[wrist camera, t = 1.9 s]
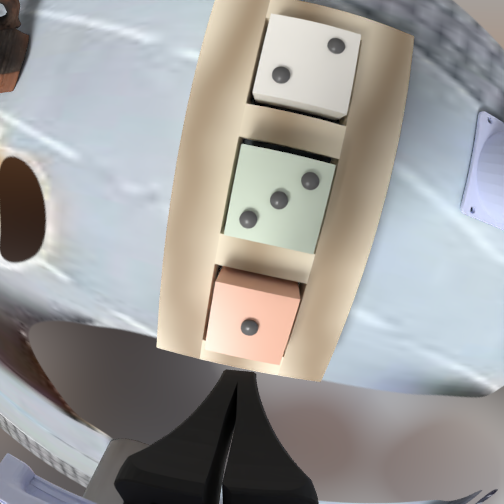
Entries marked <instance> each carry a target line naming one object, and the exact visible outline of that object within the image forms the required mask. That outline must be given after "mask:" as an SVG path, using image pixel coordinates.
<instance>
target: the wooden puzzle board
mask: <svg viewBox="0 0 504 504" xmlns="http://www.w3.org/2000/svg"><path fill="white" fill-rule="evenodd" d="M271 14H277V15H283V16H288V17H294V18H299V19H303V20H308V21H312V22H317V23H321V24H325V25H329V26H333V27H336V28H340V29H343V30H347V31H350V32H354V33H357V34H360V35H361V39H360V45H359V51H358V57H357V63H356V69H355V75H354V80H353V86H352V91H351V96H350V101H349V106H348V111H347V115H345V116H343V117H341V118H340V121H339V124H336V123H332V122H328V121H325V120H321V119H317V118H313V117H309V116H305V115H301V114H296V113H292V112H287V111H283V110H278V109H273V108H268V107H263V106H258V105H252V104H251V101H252V96H253V93H252V92H253V88H254V83H255V79H256V75H257V70H258V66H259V61H260V57H261V53H262V49H263V44H264V40H265V36H266V32H267V28H268V24H269V19H270V15H271ZM413 43H414V36H412V35H410V34H407V33H405V32H403V31H400V30H398V29H395V28H393V27H390V26H387V25H385V24H382V23H379V22H376V21H373V20H370V19H367V18H364V17H361V16H358V15H355V14H351V13H348V12H345V11H341V10H337V9H334V8H330V7H326V6H322V5H318V4H313V3H309V2H304V1H299V0H215V2H214V5H213V8H212V11H211V15H210V18H209V22H208V25H207V29H206V32H205V36H204V40H203V43H202V47H201V51H200V55H199V59H198V63H197V67H196V71H195V75H194V79H193V83H192V88H191V92H190V97H189V101H188V106H187V111H186V115H185V120H184V125H183V130H182V136H181V141H180V146H179V152H178V157H177V163H176V169H175V175H174V182H173V188H172V195H171V201H170V209H169V216H168V223H167V231H166V240H165V248H164V258H163V267H162V278H161V289H160V302H159V316H158V332H157V348H161V349H165V350H168V351H172V352H175V353H179V354H183V355H187V356H190V357H194V358H198V359H202V360H207V361H211V362H215V363H220V364H224V365H229V366H233V367H238V368H243V369H248V370H252V371H257V372H263V373H268V374H274V375H280V376H285V377H292V378H298V379H304V380H311V381H318V382H321V380H322V378H323V375H324V373H325V371H326V368H327V366H328V364H329V362H330V359H331V357H332V354H333V352H334V350H335V347H336V345H337V342H338V340H339V337H340V335H341V332H342V330H343V327H344V325H345V322H346V319H347V317H348V314H349V311H350V309H351V306H352V303H353V300H354V298H355V295H356V292H357V289H358V286H359V283H360V281H361V278H362V275H363V272H364V269H365V266H366V262H367V259H368V256H369V253H370V250H371V247H372V243H373V240H374V237H375V233H376V230H377V227H378V223H379V220H380V216H381V212H382V209H383V205H384V201H385V197H386V194H387V190H388V186H389V182H390V177H391V173H392V169H393V165H394V160H395V156H396V151H397V146H398V142H399V137H400V132H401V126H402V121H403V116H404V110H405V104H406V98H407V91H408V85H409V77H410V70H411V62H412V53H413ZM243 139H249V140H254V141H259V142H264V143H269V144H273V145H278V146H283V147H287V148H291V149H296V150H300V151H304V152H308V153H312V154H316V155H320V156H324V157H328V158H331V162H330V164H334V165H336V167H335V171H334V176H333V180H332V184H331V188H330V192H329V196H328V200H327V204H326V208H325V212H324V216H323V220H322V224H321V228H320V232H319V235H318V239H317V243H316V246H315V250H314V254H309V253H304V252H300V251H295V250H291V249H286V248H282V247H277V246H273V245H268V244H263V243H259V242H254V241H250V240H245V239H240V238H236V237H231V236H226V235H224V231H225V226H226V220H227V215H228V210H229V204H230V199H231V194H232V189H233V184H234V179H235V174H236V169H237V164H238V159H239V154H240V149H241V144H242V143H243ZM219 265H222V266H227V267H231V268H236V269H240V270H245V271H249V272H254V273H258V274H263V275H268V276H272V277H277V278H282V279H287V280H291V281H296V282H300V283H299V294H300V302H299V306H298V309H297V312H296V316H295V319H294V322H293V325H292V328H291V332H290V335H289V338H288V341H287V344H286V347H285V350H284V353H283V356H282V359H281V362H280V365H275V364H270V363H265V362H260V361H254V360H249V359H245V358H240V357H235V356H231V355H226V354H222V353H217V352H213V351H209V350H205V342H206V336H207V330H208V324H209V317H210V311H211V305H212V299H213V293H214V287H215V282H216V279H217V274H218V269H219Z"/></svg>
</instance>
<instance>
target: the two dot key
mask: <svg viewBox="0 0 504 504" xmlns="http://www.w3.org/2000/svg"><path fill="white" fill-rule="evenodd" d="M360 39H361V35H360V34H357V33H354V32H350V31H347V30H343V29H340V28H336V27H333V26H329V25H325V24H321V23H317V22H312V21H308V20H303V19H299V18H294V17H288V16H283V15H277V14H271V15H270V19H269V24H268V28H267V32H266V36H265V40H264V44H263V49H262V53H261V57H260V61H259V66H258V70H257V75H256V79H255V83H254V88H253V92H252V93H253V95H254V98H255V101H256V102H257V103H262V104H268V105H273V106H277V107H282V108H287V109H291V110H296V111H300V112H304V113H309V114H313V115H317V116H321V117H324V118H328V119H332V120H338V119H340V118H341V117H343V116H345V115H347V111H348V106H349V101H350V96H351V91H352V86H353V80H354V75H355V69H356V63H357V57H358V51H359V45H360Z"/></svg>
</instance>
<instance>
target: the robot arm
mask: <svg viewBox="0 0 504 504" xmlns="http://www.w3.org/2000/svg"><path fill="white" fill-rule="evenodd" d="M488 118H489V120H490V122H488ZM471 207H472V208H473V209H472V212H470V209H471ZM461 212H462V213H463V214H465V215H468V216H470V217H473V218H475V219H478V220H480V221H483V222H485V223H488V224H490V225H492V226H495V227H497V228H500V229H502V230H504V123H503V122H502V121H500V120H499V119H497V118H495V117H494V116H492V115H491V114H489V113H487V112H485V111H481V112H479V114H478V121H477V128H476V135H475V141H474V147H473V153H472V158H471V163H470V168H469V173H468V178H467V182H466V187H465V191H464V195H463V199H462V203H461ZM233 432H234V433H233ZM232 436H233V438H232ZM231 439H232V443H231ZM230 443H231V448H230V453H229V457H228V462H227V466H226V470H225V474H224V478H223V473H224V467H225V462H226V458H227V454H228V450H229V447H230ZM222 479H223V482H222ZM114 486H115V488H116V490H117V492H118V493H119V495H120V496H121V498H122V499H123V501H124V502H123V504H219V500H220V493H221V487H222V493H223V504H319V503H318V498H317V494H316V491H315V488H314V486H313V483H312V481H311V479H310V478H309V477H308V476H307V475H306V474H305V473H304V472H303V471H302V470H301V469H300V468H299V467H298V466H297V464H296V463H295V462H294V461H293V460H292V458H291V457H290V456H289V454H288V453H287V451H286V450H285V449H284V447H283V446H282V444H281V443H280V441H279V440H278V438H277V436H276V434H275V432H274V431H273V429H272V427H271V425H270V423H269V420H268V419H267V416H266V414H265V411H264V408H263V405H262V402H261V399H260V396H259V392H258V388H257V382H256V374H255V373H254V372H246V371H236V370H225V371H223V374H222V375H221V377H220V379H219V381H218V382H217V384H216V385H215V387H214V388H213V390H212V391H211V392H210V394H209V395H208V396H207V398H206V399H205V400H204V401H203V402H202V403H201V405H200V406H199V407H198V408H197V409H196V410H195V411H194V412H193V413H192V414H191V416H189V417H188V418H187V419H186V420H185V421H184V422H183V423H182V424H181V425H179V426H178V427H177V428H176V429H175V430H173V431H172V432H170V433H169V434H168V435H166V436H165V437H163V438H162V439H160V440H158V441H157V442H155V443H154V444H152V445H150V446H148V447H147V448H145V449H142V450H140V451H138V452H136V453H134V454H132V455H130V456H128V457H127V459H126V460H125V462H124V463H123V465H122V466H121V468H120V470H119V472H118V474H117V476H116V479H115V481H114ZM0 503H1V504H97V503H95V502H92V501H90V500H87V499H85V498H83V497H80V496H78V495H76V494H73V493H71V492H69V491H67V490H64V489H62V488H60V487H58V486H56V485H54V484H52V483H50V482H48V481H46V480H44V479H43V478H41V477H39V476H37V475H35V474H34V472H33V471H32V469H31V468H30V467H29V466H28V465H26V464H25V463H24V462H22V461H21V460H19V459H17V458H16V457H14V456H12V455H11V454H9V453H7V454H6V456H5V457H4V459H3V460H2V461H1V463H0Z"/></svg>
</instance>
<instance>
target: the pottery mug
mask: <svg viewBox="0 0 504 504" xmlns="http://www.w3.org/2000/svg"><path fill="white" fill-rule="evenodd" d="M0 3H1V4H3V5H4V7H5V8H6V11H7V13H6V15H4V16H1V17H0V93H3V92H11V91H13V90H14V87H15V85H16V82H17V79H18V75H19V72H20V69H21V66H22V62H23V60H24V58H25V54H26V51H27V47H28V41H29V35H27V34H24V33H22V32H21V31H19V30H17V29H16V28H18V27H19V26H20V25H21V23H20V21H19V18H18V15H19V10H20V3H19V0H0Z"/></svg>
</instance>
